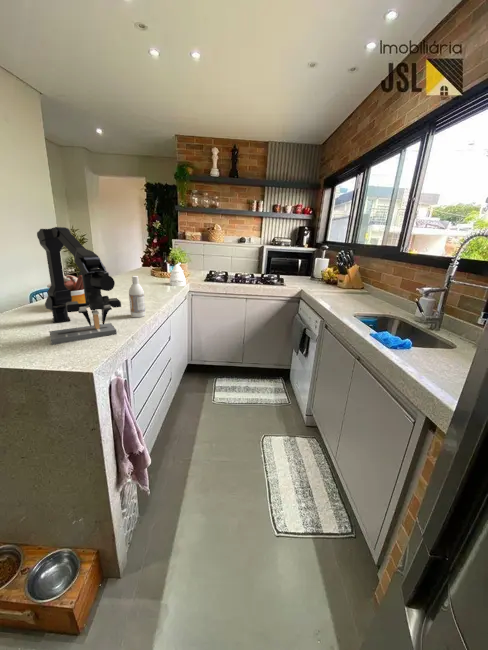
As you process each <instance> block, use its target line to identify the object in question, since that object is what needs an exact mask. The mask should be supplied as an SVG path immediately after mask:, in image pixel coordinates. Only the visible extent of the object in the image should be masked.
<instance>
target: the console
mask: <svg viewBox="0 0 488 650" xmlns="http://www.w3.org/2000/svg"><path fill="white" fill-rule="evenodd" d="M99 324H100V323H99ZM48 332H49V338H50V345H51V346H52V345H58V344H64V343H71V342H78V341H85V340H89V339H96V338H101V337H102V338H103V337H109V336H116V335H117V332H118V331H117V329H116V328H115V327H114V325H113V324H112V323H111V322H108V323H104V324H103V323H101V324H100V328H98V329H95V327H94V324H91V326H90V325H86V326H79V327H77V326H76V327H72V328H71V327H70V328H65V329H64V328H63V329H55V330H50V331H48Z"/></svg>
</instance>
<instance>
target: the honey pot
mask: <svg viewBox="0 0 488 650" xmlns="http://www.w3.org/2000/svg"><path fill="white" fill-rule="evenodd" d="M181 264H182V262H177V264H175V265H174V266H173V268H172V269H171V273H170V277H169V286H172V287H184V286H187V284H186V281H187V280H186V276H185V274H184V273H185V270H183V269H182V267H181Z"/></svg>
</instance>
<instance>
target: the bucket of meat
mask: <svg viewBox="0 0 488 650" xmlns="http://www.w3.org/2000/svg"><path fill="white" fill-rule="evenodd" d="M63 277H64V284H65V286H66V288H67V289H68V290H70V291H71V296H72V302H74V301H77V302H78V304H79V303H86V301H85V294H84V287H83V280H82V275H80V274H79V275H78V276H75V275H70V274H66V275H63ZM46 287H47V288H48V289H49V288H50V287H51V283H48V284H47V286H46Z"/></svg>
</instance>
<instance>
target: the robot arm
mask: <svg viewBox="0 0 488 650" xmlns="http://www.w3.org/2000/svg"><path fill="white" fill-rule="evenodd" d="M36 237H37V239H38V242H39V244H40V246H41V247H42V248H43V250H44V251H45V254H46V262H47V267H48V273H49V280H50V284H51V287H50V288H48V290H47V298H46V300H45V302H44V305H45V308H46V309H47V310H50V311H51V312H52V317H53V318H52V323H53V324H56V323H64V322H65V323H66V322H70V321H71V318H70V316H69V313H75V312H78V314H82V315H83V316H84V318H85V319H86V321H87V323H88V326H92V321H91V319H90V315H89V312H88V311H89V310H91V311H94V310H97V311H98V310H100V311H101V322H102V323H101V324H106V323H105V322H106V318H107V316H108V313H109V311H112V310H113V309H115V308H116V309H117V308H122V302H121V300H119V298H117V297H112V298H111V297H110V298H109V295H102V291H106V292H110V291H112V290H113V289H114V288H115V280H114V278H113V277H112V276H111V275H110V273H109V272H108V271H107V269H106V266H105V265H104V264H103V262H102V260H101V258H100V256H99V255H97V254H96V253H95V252H94V251H92V250H91V249H87V248H85V246H83V244H82V243H81V242H80V241H79V240H78V239H77V238H76V237H75V235H73V234H72V233H71V231H70V229H69V228H67V227H64V226H63V227H61V226H54V227H51V228H40V229H39V230H38V231H37V232H36ZM64 247H65V248H66V250H68V251H69V252H70V253H71V255H72V256H73V257H74V263H75V264H76V266H77V267H78V269H80V271H79V272H78V275H79V276H80V275H82V280H83V287H84V294H85V301H86V303H79V304H78V302H77V301H74V302H72V296H71V291H70V290H68V289H67V288H66V286H65V284H64V277H63V276H64V271H63V263H62V256H61V251H62V249H63V248H64ZM87 308H89V310H88V309H87ZM112 308H113V309H112Z"/></svg>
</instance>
